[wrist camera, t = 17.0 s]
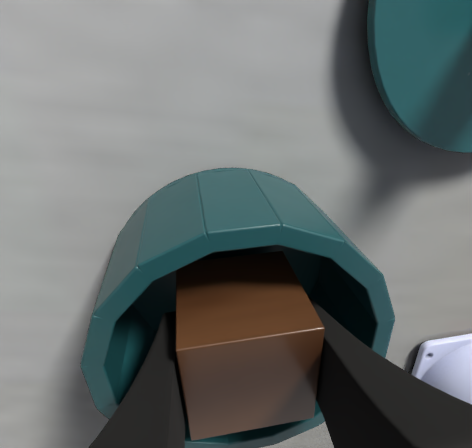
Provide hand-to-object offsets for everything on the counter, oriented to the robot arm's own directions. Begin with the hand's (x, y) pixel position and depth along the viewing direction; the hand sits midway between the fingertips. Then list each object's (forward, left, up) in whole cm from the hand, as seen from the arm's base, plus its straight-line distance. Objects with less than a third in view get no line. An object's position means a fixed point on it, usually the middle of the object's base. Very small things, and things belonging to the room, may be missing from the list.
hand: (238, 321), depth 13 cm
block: (0, 0, -1) cm, 1 cm away
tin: (0, 0, -3) cm, 3 cm away
